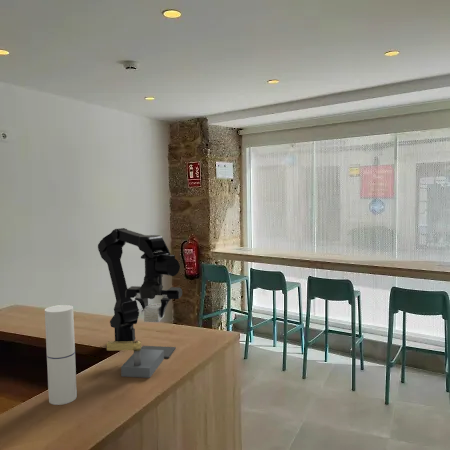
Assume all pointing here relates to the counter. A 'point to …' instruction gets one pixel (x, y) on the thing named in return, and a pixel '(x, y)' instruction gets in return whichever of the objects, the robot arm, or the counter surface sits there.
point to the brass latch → (124, 345)
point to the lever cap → (152, 312)
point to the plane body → (142, 363)
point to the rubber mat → (167, 350)
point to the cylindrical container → (60, 354)
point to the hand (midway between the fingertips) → (154, 317)
